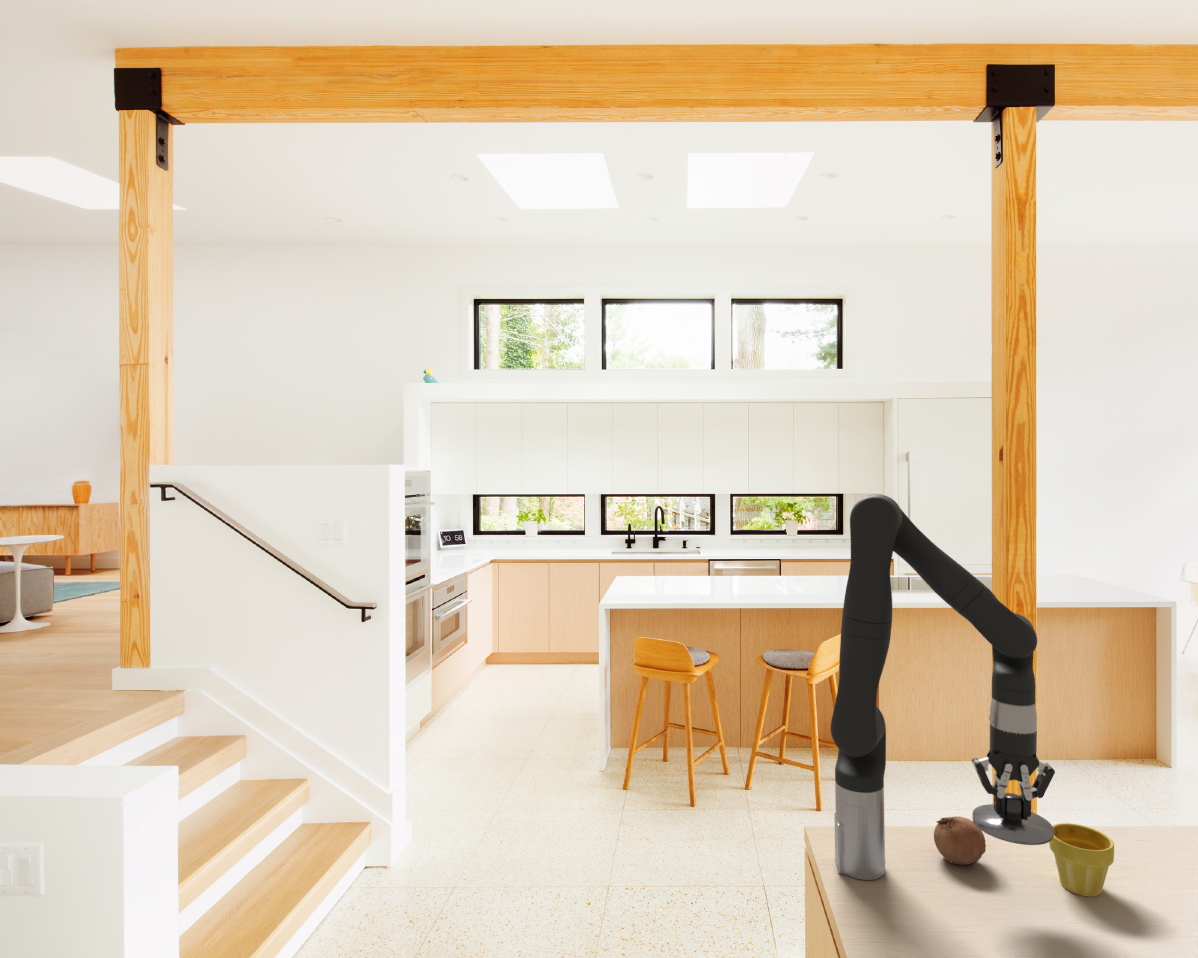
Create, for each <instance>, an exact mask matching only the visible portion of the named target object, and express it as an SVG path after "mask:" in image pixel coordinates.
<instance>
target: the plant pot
mask: <svg viewBox="0 0 1198 958" xmlns="http://www.w3.org/2000/svg"><path fill="white" fill-rule="evenodd" d="M1052 826H1053V829H1054V837H1053V839H1052V840H1051V841H1050V842H1048V843H1049V849H1050V850H1051V851H1052V853H1053V855H1054V859H1055V864H1056V867H1057V872H1058V877H1059V881H1060V884H1061V886H1063V888H1065V889H1067V890H1068V891H1069V892H1072V893H1074V894H1076V895H1080V896H1084V897H1098V896H1100V895H1101V894H1102V892H1103V888H1104V886H1105V881H1106V877H1107V874H1108V870H1109V867H1111V865H1112V864H1113V863H1114V860H1115V843H1114V841H1113V840H1112V838H1111V837H1109V836H1108V835H1107V834H1105V832H1102V831H1100V830H1097V829H1096V828H1092V827H1090V826H1087V825H1083V824H1077V823H1068V822H1065V823H1064V822H1062V823H1056V824H1054V825H1052Z"/></svg>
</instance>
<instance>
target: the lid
mask: <svg viewBox="0 0 1198 958" xmlns="http://www.w3.org/2000/svg"><path fill="white" fill-rule="evenodd" d="M1004 798H1005V818H1000V817H999V815H998V814H997V813H996V812H995V810H994V803H993V804H992V803H991V804H983V805H978V806H977V807H975V808H974V809H973V810H972V819H971V820H972V821H973V822H974V824H975V825H976V826H977V827H978V828H979V829H980V830H981V831H982V832H983V833H985V834H987V835H989V836H991V837H993V838H995V839H997V840H1001V841H1005V842H1008V843H1010V844H1011V843H1013V844H1017V845H1024V846H1025V845H1026V846H1038V845H1041V846H1042V845H1045V844H1048V843H1049V842H1050V841H1051V840H1052V839H1053V837H1054V829H1053V825H1052V824H1051V823H1050V822H1049V821H1048V819H1046V818H1044V817H1043V816H1041V815H1039V814H1037V813H1035V812H1033V811H1031V816H1030V817H1028V820H1023V819H1022V797H1021V796H1019V795H1018V794H1017V793H1012V792H1005V795H1004Z"/></svg>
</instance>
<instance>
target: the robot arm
mask: <svg viewBox="0 0 1198 958" xmlns="http://www.w3.org/2000/svg"><path fill="white" fill-rule="evenodd" d="M849 534H850V535H849V536H850V565H849V572H848V578H847V581H846V588H845V594H844V598H843V599H844V600H843V608H842V614H841V615H842V616H841V617H842V618H841V627H840V643H839V671H838V672H839V674H838V675H839V676H838V686H837V691H836V697H835V700H834V701H835V702H834V707H833V712H832V717H831V721H830V734H831V737H832V740H833V742H834V745H835V746H836V747H837V748H838V753H837V760H836V764H835V767H834V783H835V784H834V785H835V786H834V789H835V790H834V792H835V794H834V795H835V799H834V800H835V812H834V817H833V818H834V856H835V857H834V858H835V863H836V868H837V872H838V874H843V875H846V876H849V877H851V878H854V879H856V880H857V879H858V880H865V881H868V880H869V881H870V880H871V881H873V880H877V879H881V877H883V876H884V875H885V873H886V843H885V841H886V840H885V838H886V837H885V836H886V835H885V832H886V831H885V787H884V786H885V783H884V781H885V771H886V765H887V764H886V763H887V756H886V755H887V728H886V727H887V726H886V720H885V717H884V715H883V713H882V711H881V710H880V708H879V707H878V706H877V698H878V697H877V696H878V689H879V685H880V681H881V677H882V674H883V670H884V667H885V664H886V661H887V657H888V653H889V648H890V645H891V644H890V643H891V636H892V625H893V592H892V582H891V565H892V559H893V552H894V553H895V554H896V555H898V556H899V557H900V558H902V560H904V562H905V563H907V564H908V565H909V566H910V567H911V568H912V569H913V570H914V571H915V572H916V574H917V575H919V577H920V578H921V579H922V580H923V582H925V583H926V584H927V586H929V588H930V589H931V590H932V591H933V592H934V593H935V594H936V595H937V596H938V597H940V599H942V600H943V602H945V604H948V605H949V606H950V607H951V608H952V609H954V611H955V612H957V613H958V614H959V615H960V616H962V617H963V618H964V619H966V620H967V621H968V622H969V623H970V624H971V625H972V626H973V627H974V628H975V630H977V632H979V634H981V635H982V637H983V638H984V639H985V640H986V641H987V642H988V643H989V644H990V645H991V651H992V664H993V666H992V674H991V700H990V706H989V715H988V717H989V718H988V720H989V750H988V752H987V754H986V757H983V758H980V759H979V758H977V757H974V758H972V760H971V763H972V765H973V767H974V770H975V771H976V774H977V777H978V778H979V781H980V783H981V785H982V787H983V788H984V791H986V793H987V794H988V795H993V804H994V810H995V812H996V813H997V814H998V815H999V817H1000V818H1005V798H1004V795H1005V793H1006V790H1007V788H1008V786H1009V782H1010V781H1017V782H1018V786H1019V789H1020V790H1019V791H1020V795H1019V796H1021V797H1022V819H1023V820H1028V817H1030V816H1031V812H1032V800H1033V799H1035V798H1038V799H1042V798H1044V796H1045V793H1046V792H1047V789H1048V787H1049V786H1050V783H1051V781H1052V780H1053V777H1054V775H1055V774H1056V771H1055V769H1054V768H1053V767H1052V766H1051V764H1049V763H1048V762H1041V761H1040V760H1039V758H1038V755H1037V749H1038V747H1037V744H1038V743H1037V741H1038V713H1037V708H1036V705H1037V704H1036V690H1037V689H1036V688H1037V687H1036V679H1035V678H1036V677H1035V674H1034V666H1033V665H1034V652H1035V650H1036V649H1037V647H1038V636H1037V633H1036V630H1035V628H1034V625H1033V624H1032V623H1031V621H1030V620H1029V619H1028V618H1026V617H1025V615H1022V614H1019V613H1015V612H1013V611H1012V610H1010V609H1009V608H1008V607H1007V606H1006V605H1005V604H1004V603H1002V602H1001V601H1000V600H999V599H998V598H997V596H996V595H995V594H994V593H993V591H992V590H991V589H990V588H989V587H987V586H986V585H985V584H984V583H983V582H982V581H980V580H979V579H978V578H977V577H976V576H974V575H973V574H972V572H970V571H968V569H966V568H965V567H963V566H962V565H961V564H960V563H958V562H957V561H956V560H955V559H953V558H952V557H951V556H949V554H947V553H946V552H945V551H944V550H942V549H941V548H940V547H939V546H938V545H936V544H935V543H933V542H932V540H930V538H928V537H927V536H926V535H925V534H924V533H923V532H922V531H921V530H920V528H918V527H917V526H916V524H914V523H913V522H912V520H911V519H910V517H908V516H907V514H906V512H904V511H903V510H902V509H901V507H900V505H899V504H898V503H897V502H896V500H894V499H893V498H891V497H889V496H888V495H884V494H878V493H877V494H870V495H867V496H865V497H862V498H861V499H860V500H858V501H857V502H856V503H855V504H854V506H853V507H852V509H851V511H850V515H849ZM989 765H991V767H992V768H993V770H994V771H995V773H994V781H993V782H994V784H992V783H991V781H990V779H989V777H988V775H987V772H988V771H989ZM1036 770H1037V771H1036ZM1035 771H1036V772H1037V775H1036V778H1035V779H1034V782H1033V783H1032V785H1031V781H1030V780H1031V778H1030V777H1031V775H1032V774H1033V773H1035Z"/></svg>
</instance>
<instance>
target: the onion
mask: <svg viewBox="0 0 1198 958" xmlns="http://www.w3.org/2000/svg"><path fill="white" fill-rule="evenodd" d="M936 823H937V824H936V826H935V828H934V832H933V841H934V844H935V846H936V849H937V851H938V852H939V853H940V855H941V856H942V857H943V858H944V859H945V860H947V861H948V862H949V863H952V864H954V865H955V864H956V865H974V864H975V863H977V862H978V861H980V859H981V858H982V856H983V855H984V854H985V853H986V850H987V849H986V848H987V847H986V846H987V845H986V838H985V835H984V832H983V831H982V830H980V829H979V828H978V827H977V826H976V825H975V824H974V822H973V820H972V819H970V818H967V817H964V816H957V815H956V816H948V817H947V816H945V817H941V818H940V819H939V820H937V821H936Z"/></svg>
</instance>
